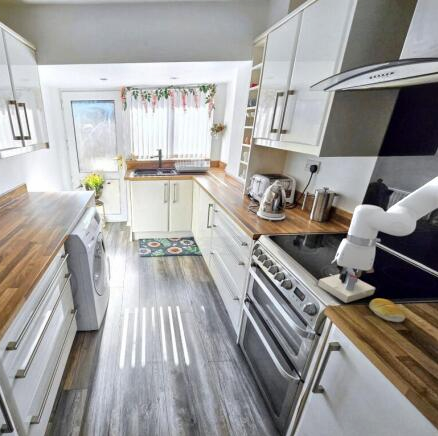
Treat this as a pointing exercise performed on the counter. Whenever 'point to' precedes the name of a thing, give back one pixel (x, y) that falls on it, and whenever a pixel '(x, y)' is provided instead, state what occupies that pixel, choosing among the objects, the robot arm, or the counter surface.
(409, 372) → the counter surface
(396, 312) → the bread roll
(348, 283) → the grey rectangular block
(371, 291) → the cream flat tabbed slab
